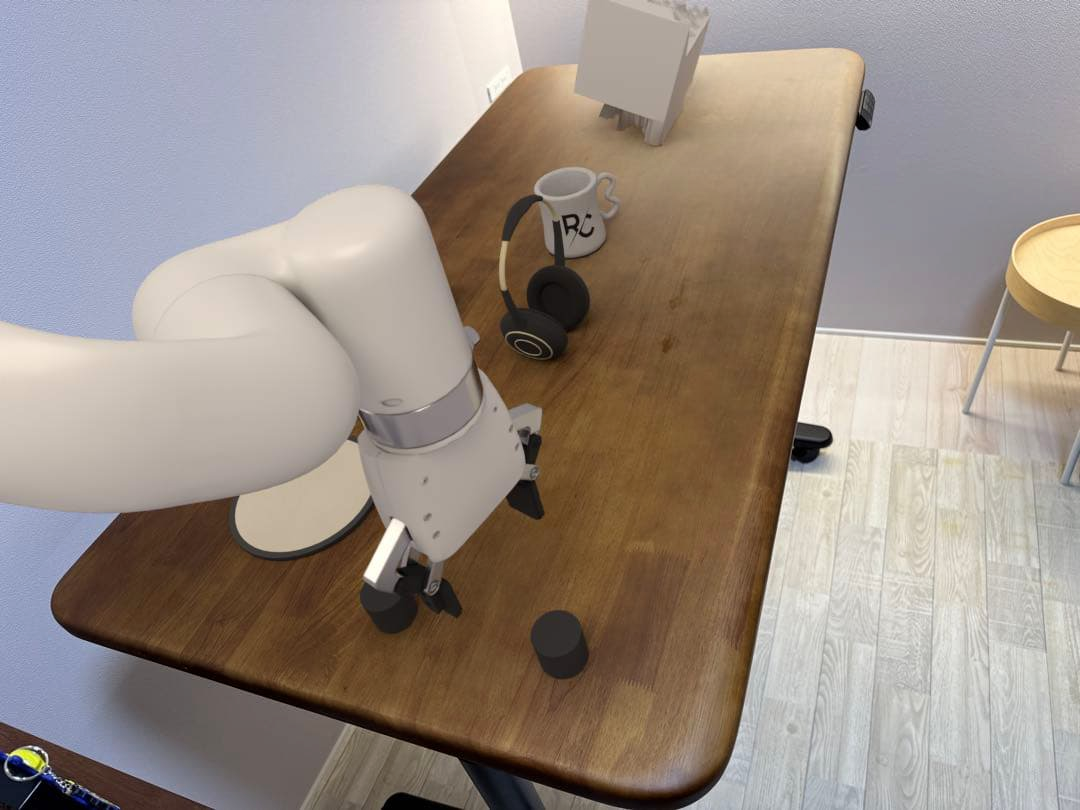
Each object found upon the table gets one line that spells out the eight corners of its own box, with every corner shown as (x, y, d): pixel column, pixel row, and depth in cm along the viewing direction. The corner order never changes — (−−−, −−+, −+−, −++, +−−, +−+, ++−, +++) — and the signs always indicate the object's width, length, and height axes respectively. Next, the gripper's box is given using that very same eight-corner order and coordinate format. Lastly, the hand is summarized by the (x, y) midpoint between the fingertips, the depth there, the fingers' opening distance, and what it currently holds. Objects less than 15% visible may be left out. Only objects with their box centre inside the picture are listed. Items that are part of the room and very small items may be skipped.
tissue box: (604, 88, 147) (632, -54, 127) (684, 115, 144) (725, -26, 124) (564, 142, 134) (588, -6, 115) (651, 172, 132) (690, 26, 112)
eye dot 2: (565, 689, 66) (556, 667, 64) (529, 659, 69) (519, 636, 66) (599, 651, 68) (592, 628, 65) (562, 624, 71) (554, 600, 68)
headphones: (497, 373, 98) (454, 237, 84) (546, 302, 106) (515, 168, 93) (558, 384, 94) (524, 244, 80) (604, 309, 103) (580, 171, 89)
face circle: (282, 590, 80) (279, 587, 79) (204, 509, 91) (201, 505, 90) (414, 479, 87) (412, 475, 87) (328, 416, 98) (326, 413, 98)
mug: (562, 268, 112) (549, 207, 105) (536, 241, 118) (522, 182, 111) (637, 236, 114) (629, 173, 107) (608, 211, 120) (599, 151, 113)
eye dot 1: (391, 642, 73) (377, 620, 70) (365, 616, 76) (350, 594, 73) (427, 609, 75) (414, 586, 72) (399, 585, 77) (386, 562, 75)
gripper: (466, 295, 53) (520, 461, 64) (270, 468, 44) (373, 623, 56) (553, 323, 49) (594, 495, 60) (356, 519, 40) (448, 675, 52)
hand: (488, 556), depth 58 cm, fingers open, 9 cm apart
